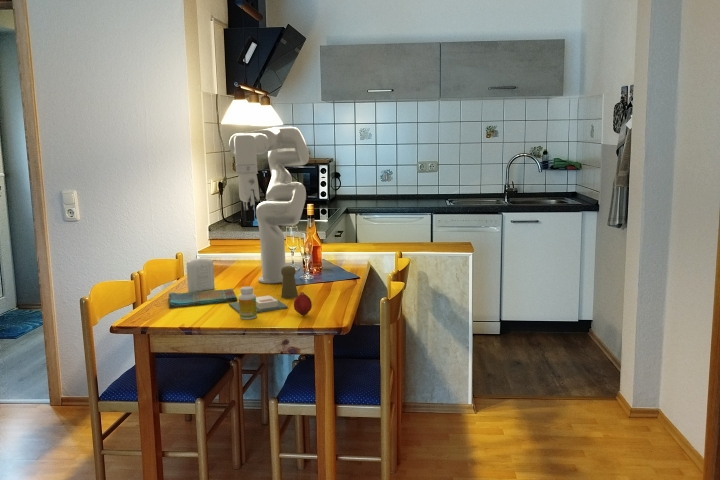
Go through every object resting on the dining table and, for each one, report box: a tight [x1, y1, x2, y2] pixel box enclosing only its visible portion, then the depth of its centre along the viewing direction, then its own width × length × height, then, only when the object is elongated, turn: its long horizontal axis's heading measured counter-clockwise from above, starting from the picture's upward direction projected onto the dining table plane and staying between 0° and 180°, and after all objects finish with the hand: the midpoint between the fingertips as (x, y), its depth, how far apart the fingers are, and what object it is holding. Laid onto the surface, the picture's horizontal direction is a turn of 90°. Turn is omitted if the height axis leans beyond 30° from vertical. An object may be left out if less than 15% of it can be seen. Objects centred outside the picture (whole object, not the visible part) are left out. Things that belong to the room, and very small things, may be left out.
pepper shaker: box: [280, 265, 299, 300], centre depth 242 cm, size 6×6×11 cm
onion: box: [293, 291, 313, 317], centre depth 217 cm, size 6×6×8 cm
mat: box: [228, 296, 289, 315], centre depth 230 cm, size 16×15×1 cm
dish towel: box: [168, 288, 238, 309], centre depth 243 cm, size 17×23×2 cm
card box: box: [256, 295, 279, 309], centre depth 229 cm, size 6×2×9 cm
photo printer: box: [186, 257, 216, 293], centre depth 255 cm, size 10×4×12 cm, turn 123°
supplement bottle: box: [238, 286, 258, 320], centre depth 217 cm, size 5×5×10 cm
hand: (249, 221), depth 242 cm, fingers closed
